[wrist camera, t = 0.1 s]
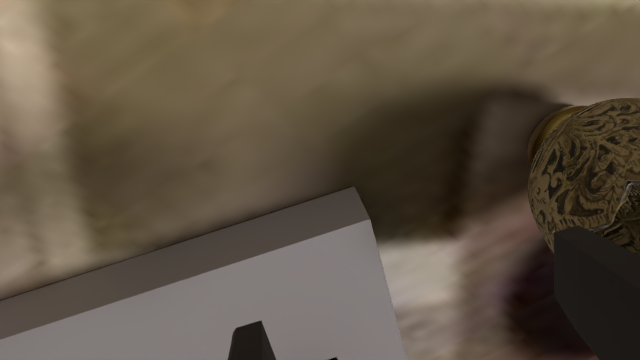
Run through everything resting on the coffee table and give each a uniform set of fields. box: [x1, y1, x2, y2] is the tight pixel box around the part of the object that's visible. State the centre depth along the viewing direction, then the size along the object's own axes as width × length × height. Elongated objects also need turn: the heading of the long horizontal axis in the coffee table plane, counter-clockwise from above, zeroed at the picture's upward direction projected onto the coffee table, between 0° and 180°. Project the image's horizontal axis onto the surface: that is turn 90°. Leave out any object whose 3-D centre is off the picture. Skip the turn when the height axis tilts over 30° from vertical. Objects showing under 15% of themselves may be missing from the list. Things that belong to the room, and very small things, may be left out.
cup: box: [528, 98, 640, 255], centre depth 21 cm, size 8×7×8 cm
